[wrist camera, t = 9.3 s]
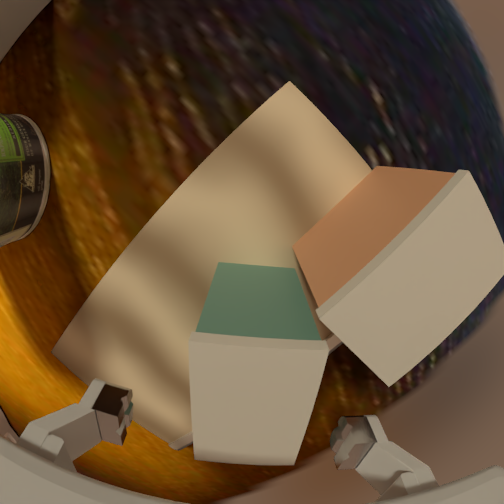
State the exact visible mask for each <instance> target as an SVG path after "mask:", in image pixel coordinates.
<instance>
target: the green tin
mask: <svg viewBox="0 0 504 504" xmlns="http://www.w3.org/2000/svg"><path fill="white" fill-rule="evenodd" d="M188 345H189V379H190V401H191V418H192V433H193V447H194V459H195V460H202V461H211V462H221V463H233V464H249V465H294V463H295V460H296V458H297V455H298V452H299V449H300V446H301V443H302V440H303V438H304V435H305V432H306V429H307V425H308V422H309V419H310V416H311V413H312V410H313V406H314V403H315V400H316V396H317V393H318V390H319V386H320V383H321V379H322V376H323V372H324V368H325V365H326V361H327V357H328V353H329V348H328V346H327V343H326V341H322V340H321V338H320V335H319V332H318V329H317V327H316V324H315V321H314V318H313V316H312V313H311V310H310V307H309V305H308V302H307V299H306V297H305V294H304V291H303V289H302V286H301V283H300V281H299V278H298V275H297V273H296V270H295V268H285V267H273V266H260V265H248V264H236V263H224V262H218V265H217V268H216V271H215V274H214V277H213V280H212V283H211V286H210V289H209V292H208V295H207V298H206V301H205V304H204V307H203V310H202V313H201V316H200V319H199V322H198V325H197V328H196V331H195V332H193V331H192V332H191V335H190V338H189V341H188Z"/></svg>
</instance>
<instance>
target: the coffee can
mask: <svg viewBox="0 0 504 504" xmlns="http://www.w3.org/2000/svg"><path fill="white" fill-rule="evenodd" d="M50 171H51V170H50V159H49V153H48V149H47V145H46V142H45V139H44V136H43V134H42V132H41V130H40V129H39V127H38V126H37V125H36V124H35V123H34V122H33V121H32V120H31V119H30V118H29V117H27V116H24V115H21V114H1V113H0V247H1V246H3V245H6V244H8V243H10V242H13V241H17V240H20V239H22V238H24V237H26V236H27V235H29V234H30V233H31V232H32V231H33V229H34V228H35V227H36V226H37V224H38V223H39V221H40V218H41V216H42V215H43V212H44V209H45V206H46V203H47V199H48V194H49V188H50V175H51V173H50Z"/></svg>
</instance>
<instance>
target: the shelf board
mask: <svg viewBox="0 0 504 504" xmlns="http://www.w3.org/2000/svg"><path fill="white" fill-rule="evenodd" d="M371 171H372V170H371V169H370V167H369V166H368V165H367V164H366V162H365V161H364V160H363V159H362V158H361V156H360V155H359V154H358V153H357V152H356V150H355V149H354V148H353V147H352V146H351V145H350V143H349V142H348V141H347V140H346V139H345V138H344V137H343V136H342V134H341V133H340V132H339V131H338V130H337V129H336V128H335V127H334V126H333V125H332V123H331V122H330V121H329V120H328V119H327V118H326V117H325V116H324V115H323V114H322V113H321V112H320V111H319V110H318V109H317V108H316V107H315V106H314V105H313V104H312V103H311V102H310V101H309V100H308V99H307V98H306V97H305V96H304V95H303V94H302V93H301V92H300V91H299V90H298V89H297V88H296V87H295V86H294V85H293V84H292V83H291V82H290V81H289V82H288V83H287V84H285V85H284V86H283V87H282V88H281V89H280V90H278V91H277V92H276V93H275V94H274V95H273V96H272V97H271V98H269V99H268V100H267V101H266V102H265V103H264V104H263V105H262V106H260V107H259V108H258V109H257V110H256V111H255V112H254V113H253V114H252V115H251V116H250V117H248V118H247V119H246V120H245V121H244V122H243V123H242V124H241V125H240V126H239V127H238V128H237V129H236V130H235V131H234V132H233V133H232V134H231V135H230V136H228V137H227V138H226V139H225V140H224V141H223V142H222V143H221V144H220V145H219V146H218V147H217V148H216V149H215V150H214V151H213V152H212V153H211V154H210V155H209V156H208V157H207V158H206V159H205V160H204V161H203V162H202V164H201V165H200V166H199V167H198V168H197V169H196V170H195V171H194V172H193V173H192V174H191V175H190V176H189V177H188V178H187V179H186V180H185V181H184V182H183V184H182V185H181V186H180V187H179V188H178V189H177V190H176V191H175V192H174V193H173V194H172V196H171V197H170V198H169V199H168V200H167V201H166V202H165V203H164V204H163V206H162V207H161V208H160V209H159V210H158V211H157V212H156V214H155V215H154V216H153V217H152V218H151V219H150V220H149V222H148V223H147V224H146V225H145V226H144V227H143V229H142V230H141V231H140V232H139V233H138V235H137V236H136V237H135V238H134V239H133V241H132V242H131V243H130V244H129V245H128V247H127V248H126V249H125V250H124V252H123V253H122V254H121V255H120V257H119V258H118V259H117V260H116V262H115V263H114V264H113V265H112V267H111V268H110V269H109V271H108V272H107V273H106V274H105V276H104V277H103V278H102V280H101V281H100V282H99V284H98V285H97V286H96V288H95V289H94V290H93V292H92V293H91V294H90V296H89V297H88V299H87V300H86V301H85V303H84V304H83V305H82V307H81V308H80V310H79V311H78V312H77V314H76V315H75V317H74V318H73V320H72V321H71V322H70V324H69V325H68V327H67V328H66V330H65V331H64V333H63V334H62V336H61V337H60V339H59V340H58V342H57V343H56V345H55V346H54V348H53V349H52V351H51V353H52V354H53V355H54V356H55V357H56V358H58V359H59V360H60V361H61V362H62V363H63V364H64V365H65V366H66V367H67V368H68V369H69V370H71V371H72V372H73V373H74V374H75V375H76V376H77V377H78V378H80V379H81V380H82V381H83V382H84V383H85V384H87V385H88V386H90V384H91V382H92V381H93V380H94V379H95V378H97V379H100V380H103V381H106V382H110V383H113V384H116V385H119V386H123V387H126V388H129V389H132V393H133V397H132V399H131V402H132V403H133V407H134V409H133V417H132V420H134V421H135V422H137V423H138V424H140V425H141V426H143V427H144V428H145V429H147V430H149V431H150V432H152V433H153V434H155V435H156V436H158V437H159V438H161V439H163V440H164V441H166V442H168V443H169V446H170V447H171V448H173V449H175V450H181V449H183V448H185V447H187V446H188V445H190V444H192V443H193V433H192V418H191V401H190V379H189V345H188V341H189V338H190V335H191V332H192V331H193V332H195V331H196V328H197V325H198V322H199V319H200V316H201V313H202V310H203V307H204V304H205V301H206V298H207V295H208V292H209V289H210V286H211V283H212V280H213V277H214V274H215V271H216V268H217V265H218V262H224V263H236V264H248V265H260V266H273V267H285V268H295V270H296V273H297V275H298V278H299V281H300V283H301V286H302V289H303V291H304V294H305V297H306V299H307V302H308V305H309V307H310V310H311V313H312V316H313V318H314V321H315V324H316V327H317V329H318V332H319V335H320V338H321V340H322V341H326V343H327V346H328V348H329V353H328V355H329V354H330V353H331V352H332V351H334V350H335V349H336V348H337V347H339V346H340V345H341V344H342V343H343V342H342V341H341V340H340V339H339V338H338V337H337V336H336V335H335V334H334V333H333V332H332V331H331V330H330V329H329V328H328V327H327V326H326V325H325V324H324V323H323V322H322V321H321V320H320V319H319V318H318V315H317V313H316V309H318V308H319V307H318V305H317V303H316V300H315V298H314V296H313V293H312V291H311V289H310V286H309V284H308V282H307V279H306V277H305V275H304V273H303V270H302V268H301V266H300V264H299V261H298V259H297V257H296V255H295V252H294V250H293V248H292V246H293V245H294V244H295V243H296V242H297V241H298V240H299V239H300V238H301V237H302V236H304V235H305V234H306V233H307V232H308V231H309V230H310V229H311V228H312V227H313V226H314V225H315V224H316V223H317V222H319V221H320V220H321V219H322V218H323V217H324V216H325V215H326V214H327V213H328V212H329V211H330V210H331V209H332V208H333V207H334V206H336V205H337V204H338V203H339V202H340V201H341V200H342V199H343V198H344V197H345V196H346V195H347V194H348V193H349V192H350V191H351V190H352V189H353V188H354V187H355V186H357V185H358V184H359V183H360V182H361V181H362V180H363V179H364V178H365V177H366V176H367V175H368V174H369V173H370V172H371Z"/></svg>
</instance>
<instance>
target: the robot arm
mask: <svg viewBox="0 0 504 504" xmlns="http://www.w3.org/2000/svg"><path fill="white" fill-rule="evenodd" d="M132 397H133V393H132V389H129V388H126V387H123V386H119V385H116V384H113V383H110V382H106V381H103V380H100V379H97V378H95V379H94V380H93V381H92V382H91V384H90V386H89V387H88V389H87V391H86V392H85V394H84V396H83V397H82V399H81V401H80V402H79V404H76V403H75V404H72V405H70V406H68V407H65V408H63V409H61V410H58V411H56V412H54V413H51V414H49V415H47V416H44V417H42V418H39V419H37V420H34V421H32V422H30V423H29V424H28V425H27V427H26V429H25V430H24V432H23V433H22V435H21V436H20V438H19V437H18V436H17V435H16V433H15V432H14V431H13V429H12V428H11V427H10V425H9V424H8V422H7V420H6V418H5V416H4V414H3V412H2V410H1V409H0V504H188V503H182V502H177V501H171V500H166V499H162V498H157V497H153V496H149V495H145V494H141V493H137V492H133V491H130V490H126V489H123V488H119V487H116V486H113V485H110V484H107V483H104V482H101V481H98V480H95V479H92V478H89V477H87V476H84V475H82V474H79V473H77V472H76V469H75V467H74V465H73V463H72V461H73V460H74V459H76V458H77V457H79V456H80V455H82V454H83V453H85V452H86V451H88V450H89V449H91V448H92V447H94V446H95V445H97V444H98V443H100V442H101V441H102V440H104V441H107V442H110V443H114V444H117V445H121V446H122V445H123V443H124V440H125V437H126V435H127V431H126V427H128V426H130V424H131V421H132V417H133V409H134V407H133V403H132V402H131V399H132ZM338 425H339V426H338V427H336V428H335V429H334V430H333V432H332V434H331V438H330V446H331V450H332V451H334V452H335V453H336V455H335V456H334V461H335V464H336V468H337V470H341V469H355V470H356V471H357V472H358V473H359V474H360V475H361V476H362V477H363V478H364V479H365V480H366V481H367V482H368V483H369V484H370V485H371V486H372V487H373V488H374V489H375V490H376V491H377V492H378V493H379V494H380V495H381V496H380V497H379V498H378V499H377V500H376V501H375V502H374V503H367V504H504V468H502V467H500V466H497V465H494V466H491V467H488V468H486V469H483V470H481V471H479V472H476V473H474V474H471V475H469V476H466V477H464V478H461V479H458V480H456V481H453V482H450V483H447V484H444V485H441V486H439V485H438V483H437V482H436V479H435V477H434V475H433V473H432V472H431V469H430V467H429V466H427V465H426V464H424V463H422V462H421V461H420V460H418V459H416V458H415V457H414V456H412V455H411V454H409V453H408V452H406V451H405V450H403V449H402V448H401V447H399V446H398V445H396V444H395V443H393V442H392V441H388V439H387V437H386V435H385V432H384V430H383V428H382V426H381V424H380V422H379V420H378V417H377V416H376V415H365V416H342V417H341V418H340V419H339V421H338Z"/></svg>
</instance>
